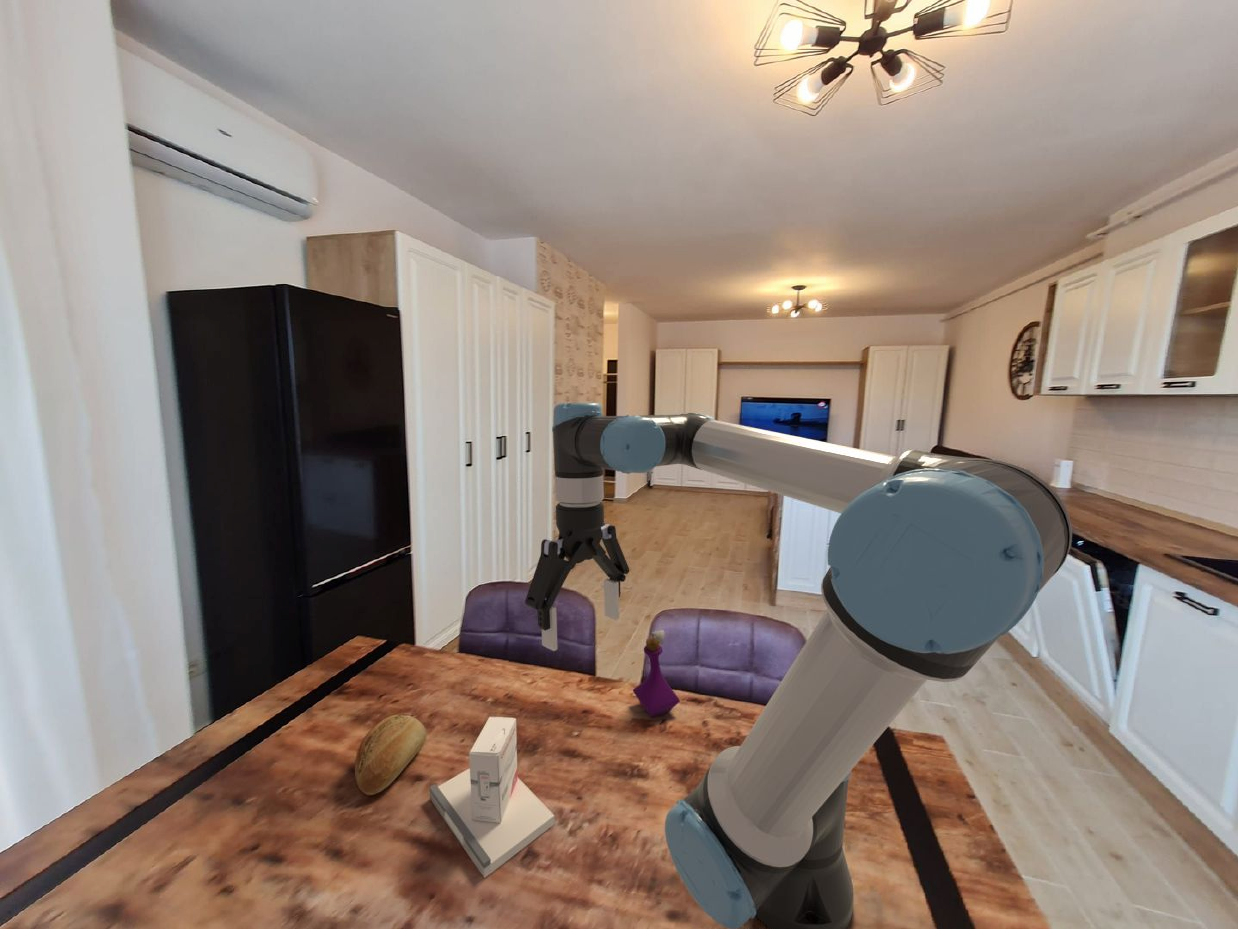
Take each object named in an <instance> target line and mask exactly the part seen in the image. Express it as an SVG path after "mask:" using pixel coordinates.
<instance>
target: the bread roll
mask: <svg viewBox="0 0 1238 929" xmlns="http://www.w3.org/2000/svg"><path fill="white" fill-rule="evenodd" d="M426 740H427V730H426V728H425V725H424V724H423V723H422V722H421V721H420V720H418V719H417V718H416V717H414V716H411V715H403V714H394V715H390V716H388V717H386V718H384V719H382V720H380V721H379V722H378V723H376V724H375V725H374V726H373V727H372V728H371V729H370V730H369V731H368V732H367V733H366V734H365V736H364V737H363V739H362V741H361V743H360V744H359V747H358V749H357V751H356V756H355V762H354V776H355V780H356V783H357V786H358V788H359V790H360V791H361V792H362V793H363V794H364V795H367V796H374V795H376V794H378V793H381V792H382V791H384V789H386V788H387V787H388V786H390V785H391V784H392V783H393V782H394V781H395V780H396V779H397V778H398V776H399V775H400V774H401V773H402V771H404V769H405V768H406V767H407V766H408V765H409V763H410V762H411V761H412V760H413V759H414V758H415V756H416V755H417V754H418V753H419V751H421V749H422V748H423V747H424V745H425V742H426Z"/></svg>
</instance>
